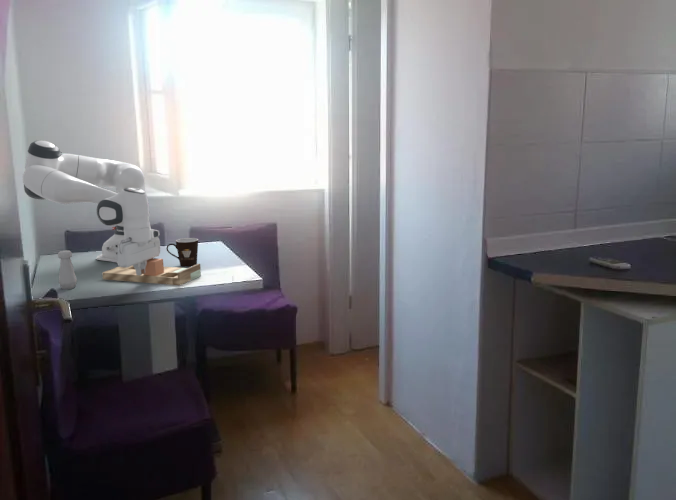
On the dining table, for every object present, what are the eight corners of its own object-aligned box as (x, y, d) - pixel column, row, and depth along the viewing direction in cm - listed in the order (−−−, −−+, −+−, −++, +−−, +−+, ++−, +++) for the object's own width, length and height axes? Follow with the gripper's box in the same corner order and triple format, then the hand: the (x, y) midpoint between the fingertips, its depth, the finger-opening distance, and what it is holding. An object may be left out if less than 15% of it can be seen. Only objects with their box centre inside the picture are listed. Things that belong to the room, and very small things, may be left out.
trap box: (102, 279, 229) (101, 267, 228) (126, 270, 242) (125, 258, 241) (180, 285, 220) (179, 272, 219) (200, 275, 233) (200, 263, 232)
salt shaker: (62, 285, 221) (58, 249, 218) (79, 285, 222) (75, 248, 219) (56, 290, 215) (52, 252, 213) (74, 289, 216) (70, 252, 213)
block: (143, 274, 225) (142, 261, 224) (152, 271, 229) (151, 258, 228) (155, 275, 223) (154, 261, 222) (163, 272, 228) (162, 258, 227)
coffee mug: (203, 263, 252) (202, 238, 250) (192, 268, 244) (190, 242, 242) (178, 261, 256) (177, 237, 254) (166, 266, 248) (164, 241, 246)
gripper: (126, 241, 207) (130, 282, 210) (162, 230, 226) (164, 268, 229) (110, 240, 209) (114, 281, 212) (147, 229, 228) (149, 267, 231)
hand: (140, 274), depth 221 cm, fingers closed
